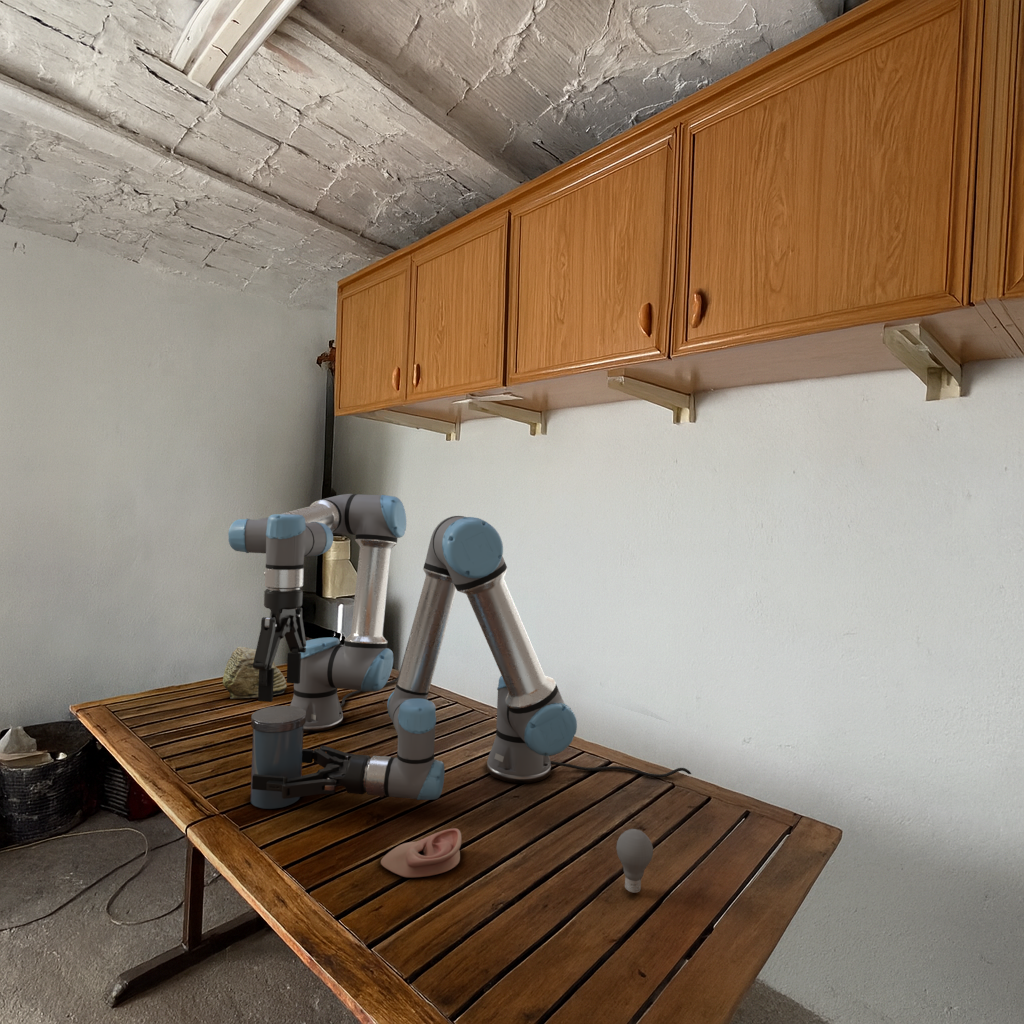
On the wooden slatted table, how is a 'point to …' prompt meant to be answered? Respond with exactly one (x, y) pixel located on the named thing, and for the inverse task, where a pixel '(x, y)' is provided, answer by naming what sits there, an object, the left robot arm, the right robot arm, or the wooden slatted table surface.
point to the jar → (276, 763)
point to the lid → (278, 719)
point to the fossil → (247, 675)
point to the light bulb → (634, 857)
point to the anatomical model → (425, 855)
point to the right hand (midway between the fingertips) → (268, 767)
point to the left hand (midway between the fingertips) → (280, 691)
